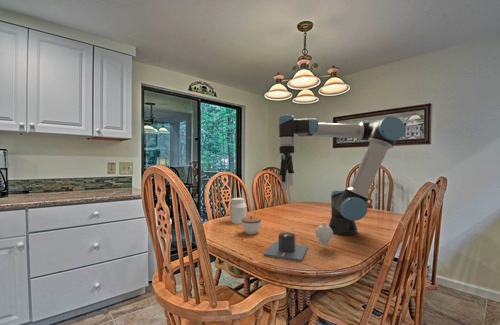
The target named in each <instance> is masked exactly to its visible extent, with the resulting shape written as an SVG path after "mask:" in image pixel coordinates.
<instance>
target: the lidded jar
mask: <svg viewBox="0 0 500 325" xmlns="http://www.w3.org/2000/svg"><path fill="white" fill-rule="evenodd" d="M261 222H262V219H261V217H259V216H253V215H250V216H247V217H245V218H242V224H241V225H242V226H241V227H242V229H243V231H244V232H245V233H246V234H247V235H256V234H258V232H259V231H260V229H261Z"/></svg>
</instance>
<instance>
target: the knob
mask: <svg viewBox="0 0 500 325" xmlns="http://www.w3.org/2000/svg"><path fill="white" fill-rule="evenodd" d="M278 242H279V250H280V251H281V252H285V253H291V252H294V251H295V244H296V234H294V233H292V232H285V231H284V232H280V233H279V234H278Z"/></svg>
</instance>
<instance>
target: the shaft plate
mask: <svg viewBox="0 0 500 325" xmlns="http://www.w3.org/2000/svg"><path fill="white" fill-rule="evenodd" d="M308 249H309V246H308V245H304V244H296V243H295V251H294V252H291V253H285V252H281V251H280V250H279V241H274V242H272V243H271V245H270V246H268V248H267V250H265V252H264V253H263V257H268V258H275V259H281V260H285V261H293V262H300V263H301V262H303V260H304V258H305V256H306V254H307V251H308Z"/></svg>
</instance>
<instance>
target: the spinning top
mask: <svg viewBox="0 0 500 325" xmlns="http://www.w3.org/2000/svg"><path fill="white" fill-rule="evenodd" d="M315 236H316V238H317V240H318V241H319V242H320V244H321V245H322V247H323V249H325V248H326V246H327V245H328V244H329V242H331V240H332V239H333V236H334V233H333V231H332V229H331V228H330V227H329V225H328V224H327V222H326V221H322V222H321V225H318V226H317V228H316V229H315Z"/></svg>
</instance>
